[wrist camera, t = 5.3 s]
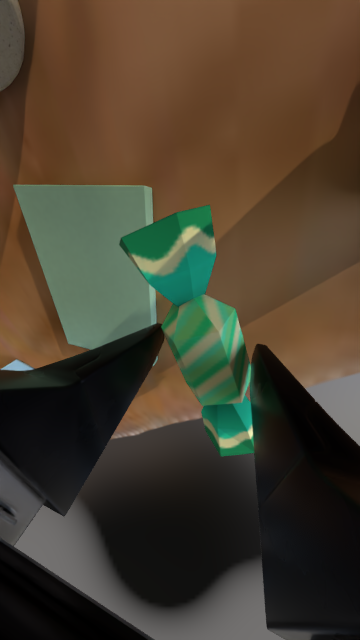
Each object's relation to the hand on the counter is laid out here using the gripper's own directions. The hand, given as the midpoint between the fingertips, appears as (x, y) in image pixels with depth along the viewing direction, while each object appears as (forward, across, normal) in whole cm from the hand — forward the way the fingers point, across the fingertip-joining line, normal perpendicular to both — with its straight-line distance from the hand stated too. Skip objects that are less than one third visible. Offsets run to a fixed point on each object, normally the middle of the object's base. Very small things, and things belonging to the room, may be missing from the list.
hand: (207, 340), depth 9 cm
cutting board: (+7, +12, +1) cm, 13 cm away
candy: (+2, 0, 0) cm, 2 cm away
